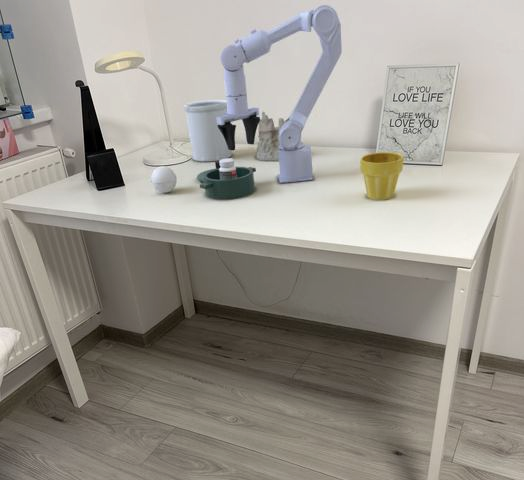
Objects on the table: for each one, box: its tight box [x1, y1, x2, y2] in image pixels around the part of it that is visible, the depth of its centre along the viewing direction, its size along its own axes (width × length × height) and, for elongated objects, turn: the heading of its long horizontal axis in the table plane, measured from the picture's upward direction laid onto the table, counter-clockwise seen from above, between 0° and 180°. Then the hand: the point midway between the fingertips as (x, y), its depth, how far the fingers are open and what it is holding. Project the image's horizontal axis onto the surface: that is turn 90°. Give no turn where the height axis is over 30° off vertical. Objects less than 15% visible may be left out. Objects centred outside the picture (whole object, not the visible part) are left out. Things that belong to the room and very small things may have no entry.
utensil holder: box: [183, 99, 233, 162], centre depth 185 cm, size 15×15×18 cm
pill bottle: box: [219, 157, 237, 180], centre depth 150 cm, size 5×5×8 cm
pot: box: [199, 166, 257, 201], centre depth 151 cm, size 14×19×5 cm
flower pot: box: [359, 151, 404, 201], centre depth 136 cm, size 10×10×10 cm
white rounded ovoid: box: [150, 165, 178, 194], centre depth 154 cm, size 10×7×7 cm
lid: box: [196, 160, 221, 183], centre depth 165 cm, size 15×15×5 cm
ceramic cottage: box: [255, 110, 285, 162], centre depth 180 cm, size 16×16×15 cm
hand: (241, 146), depth 155 cm, fingers open, 7 cm apart
